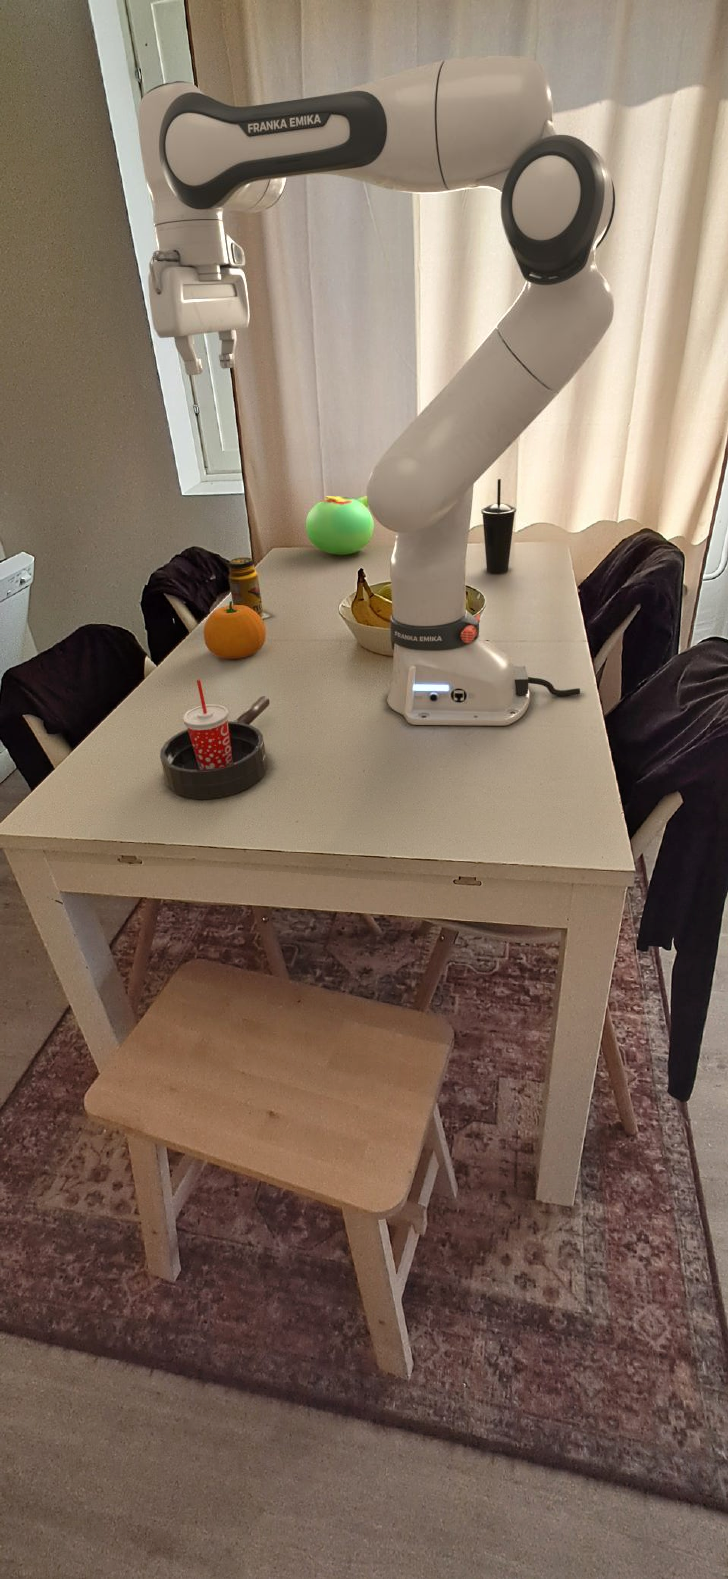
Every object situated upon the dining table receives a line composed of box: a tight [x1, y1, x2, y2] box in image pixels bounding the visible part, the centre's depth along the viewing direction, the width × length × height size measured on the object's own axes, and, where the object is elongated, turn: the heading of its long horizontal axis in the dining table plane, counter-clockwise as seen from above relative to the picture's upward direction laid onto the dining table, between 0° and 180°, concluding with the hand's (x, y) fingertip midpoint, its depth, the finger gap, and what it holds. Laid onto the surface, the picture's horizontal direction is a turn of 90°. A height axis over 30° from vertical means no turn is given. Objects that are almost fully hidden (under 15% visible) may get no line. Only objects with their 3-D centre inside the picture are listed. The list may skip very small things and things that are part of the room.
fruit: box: [202, 600, 267, 660], centre depth 144 cm, size 12×12×10 cm
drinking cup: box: [480, 478, 517, 575], centre depth 172 cm, size 8×8×20 cm
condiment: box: [227, 556, 271, 620], centre depth 160 cm, size 7×8×12 cm
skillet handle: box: [230, 695, 271, 733], centre depth 115 cm, size 10×2×2 cm, turn 160°
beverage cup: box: [182, 679, 233, 770], centre depth 104 cm, size 6×6×14 cm
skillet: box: [159, 720, 269, 800], centre depth 107 cm, size 14×14×4 cm
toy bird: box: [305, 495, 375, 556], centre depth 196 cm, size 18×17×15 cm
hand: (212, 371), depth 108 cm, fingers open, 8 cm apart
